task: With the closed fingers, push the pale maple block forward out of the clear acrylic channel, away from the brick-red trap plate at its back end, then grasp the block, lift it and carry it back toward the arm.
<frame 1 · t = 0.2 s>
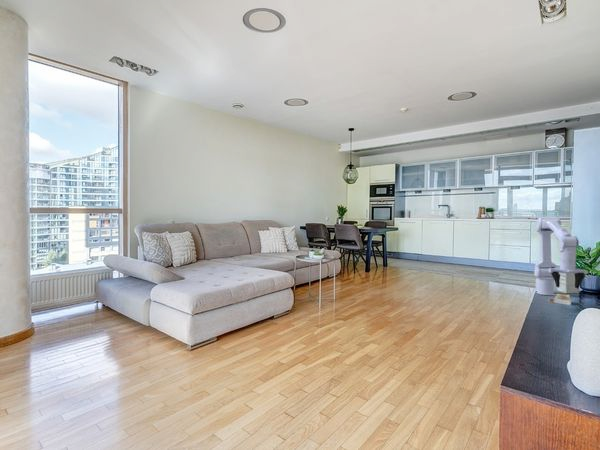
hand: (567, 287, 153), 10 cm above the sideboard top, fingers open, 7 cm apart
trap plate: (551, 300, 164), on the sideboard top
maple block: (562, 302, 161), on the sideboard top
acrylic channel: (562, 302, 161), on the sideboard top
supplement box: (567, 292, 181), on the sideboard top
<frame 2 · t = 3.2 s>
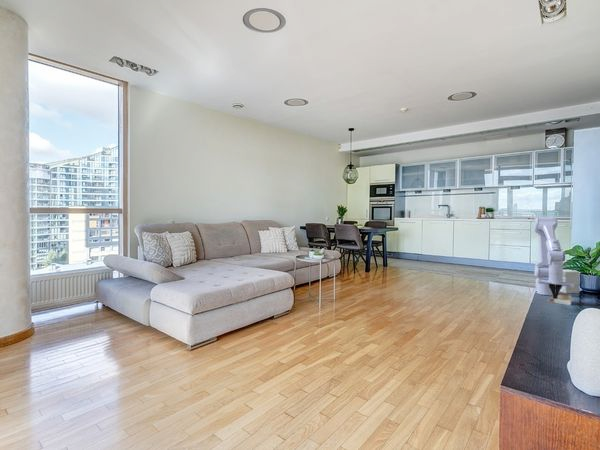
hand: (555, 298, 163), 1 cm above the sideboard top, fingers closed
maple block: (564, 302, 161), on the sideboard top, touching gripper
everything else where it was.
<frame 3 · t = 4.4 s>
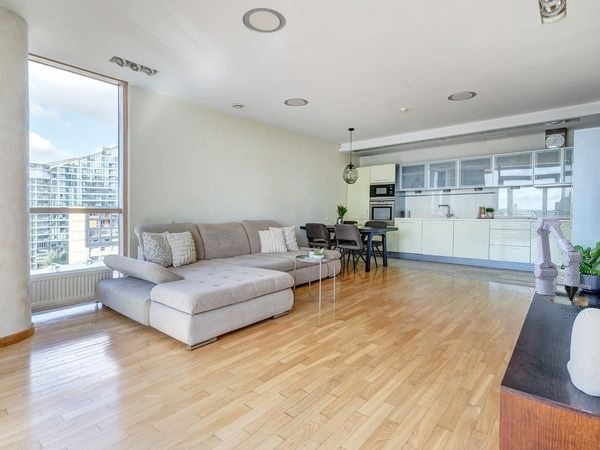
hand: (571, 300, 159), 1 cm above the sideboard top, fingers closed
maple block: (581, 305, 156), on the sideboard top, touching gripper
everything else where it was.
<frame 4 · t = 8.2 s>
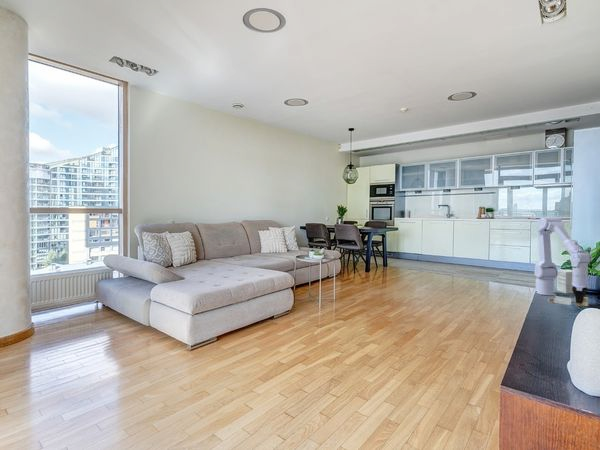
hand: (579, 302, 157), 1 cm above the sideboard top, fingers closed on maple block, 4 cm apart
maple block: (581, 305, 156), on the sideboard top, touching gripper
everything else where it was.
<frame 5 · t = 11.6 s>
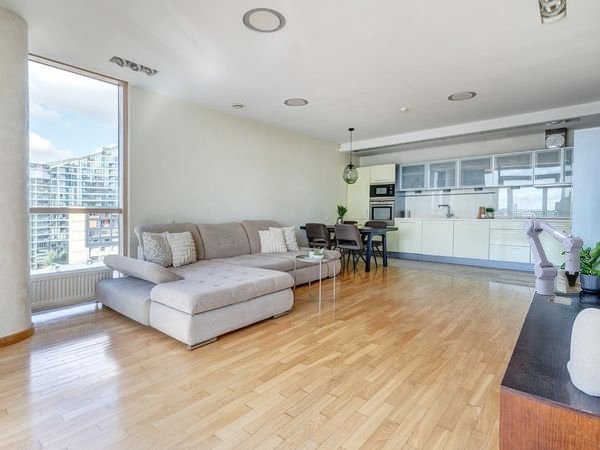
hand: (571, 285, 162), 8 cm above the sideboard top, fingers closed on maple block, 4 cm apart
maple block: (573, 290, 162), point 6 cm above the sideboard top, touching gripper
everything else where it was.
at the end: the gripper is holding maple block; maple block point 6.3 cm above the sideboard top; maple block moved 9.0 cm from its start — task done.
